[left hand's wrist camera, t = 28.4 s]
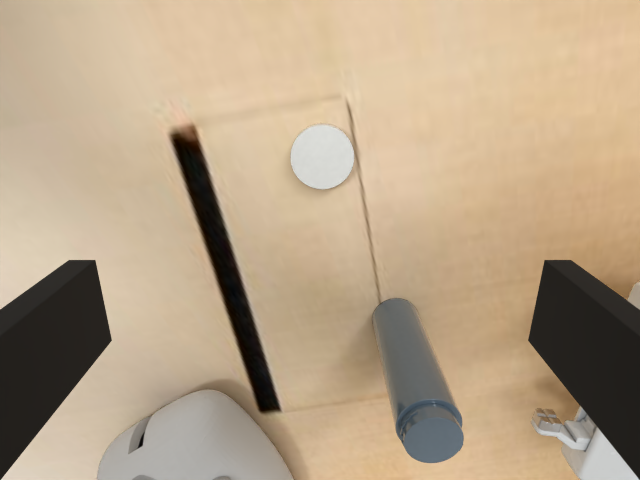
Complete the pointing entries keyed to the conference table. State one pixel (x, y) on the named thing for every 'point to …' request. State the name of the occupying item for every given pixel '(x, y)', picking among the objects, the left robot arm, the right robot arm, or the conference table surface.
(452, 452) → the blue-grey bottle
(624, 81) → the conference table surface
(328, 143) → the lid
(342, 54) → the conference table surface
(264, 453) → the projector
